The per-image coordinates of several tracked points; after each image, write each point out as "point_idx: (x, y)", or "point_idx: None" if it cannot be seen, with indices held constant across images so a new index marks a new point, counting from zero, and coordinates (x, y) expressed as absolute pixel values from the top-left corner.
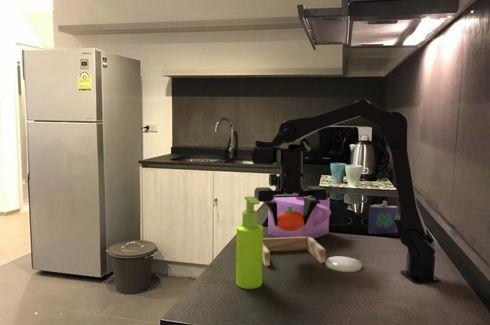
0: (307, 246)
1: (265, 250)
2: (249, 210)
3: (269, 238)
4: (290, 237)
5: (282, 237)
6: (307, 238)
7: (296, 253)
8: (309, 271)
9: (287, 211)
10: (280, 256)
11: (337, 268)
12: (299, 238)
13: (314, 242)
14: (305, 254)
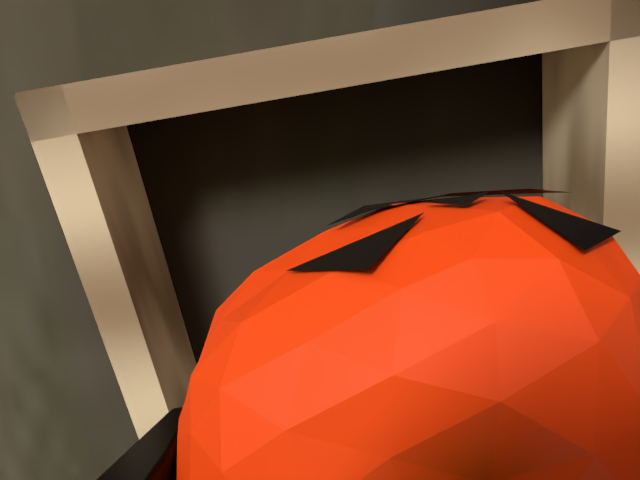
0: (557, 56)
1: (148, 428)
2: None
3: (172, 91)
4: (416, 44)
5: (324, 46)
6: (603, 41)
7: (425, 153)
8: None
9: (438, 390)
10: (289, 226)
11: None
12: (513, 56)
13: (619, 211)
14: (491, 175)
